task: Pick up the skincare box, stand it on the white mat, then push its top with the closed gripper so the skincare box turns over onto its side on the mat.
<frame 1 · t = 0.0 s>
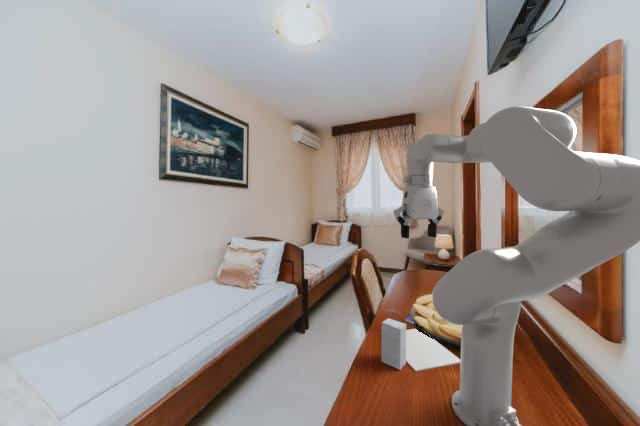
hand: (418, 237, 77), 37 cm above the table, tool pointing down, fingers open, 9 cm apart
hard drive: (422, 321, 100), on the table
skincare box: (393, 363, 73), on the table
white mat: (417, 347, 81), on the table
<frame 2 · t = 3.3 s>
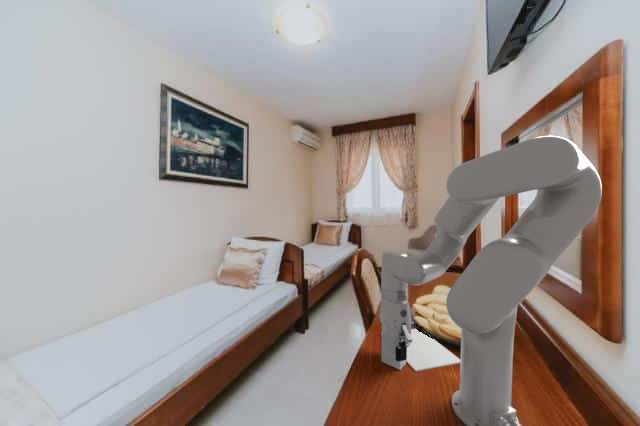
hand: (393, 351, 73), 3 cm above the table, tool pointing down, fingers closed on skincare box, 7 cm apart
skincare box: (393, 363, 73), on the table, touching gripper
everything else where it was.
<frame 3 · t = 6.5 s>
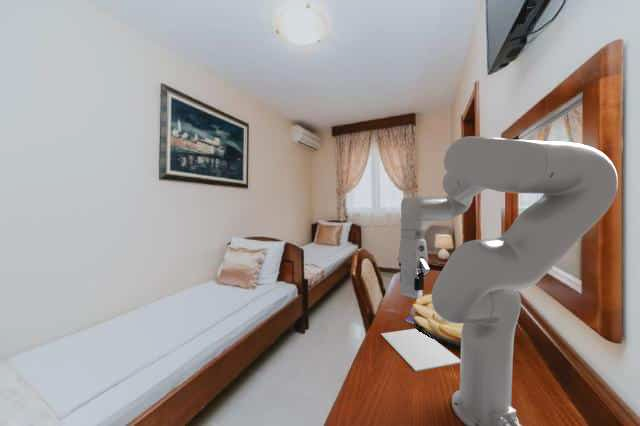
hand: (411, 285, 84), 19 cm above the table, tool pointing down, fingers closed on skincare box, 7 cm apart
skincare box: (411, 295, 84), point 16 cm above the table, touching gripper
everything else where it was.
when the fingers open (5 cm above the table, at t = 9.6 s): skincare box drops 1 cm, resting on white mat.
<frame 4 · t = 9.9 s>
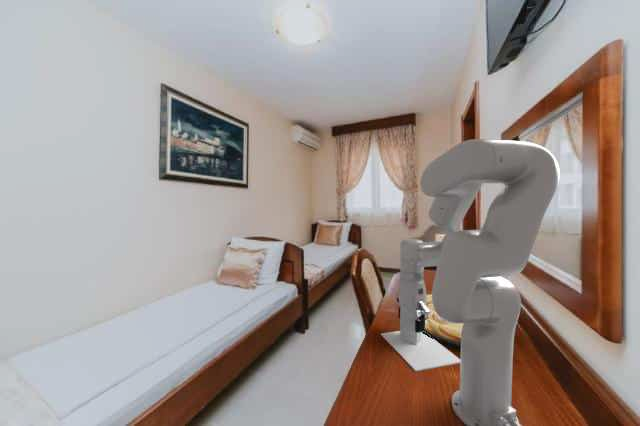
hand: (410, 324, 84), 6 cm above the table, tool pointing down, fingers open, 9 cm apart
skincare box: (410, 339, 85), resting on white mat
everything else where it was.
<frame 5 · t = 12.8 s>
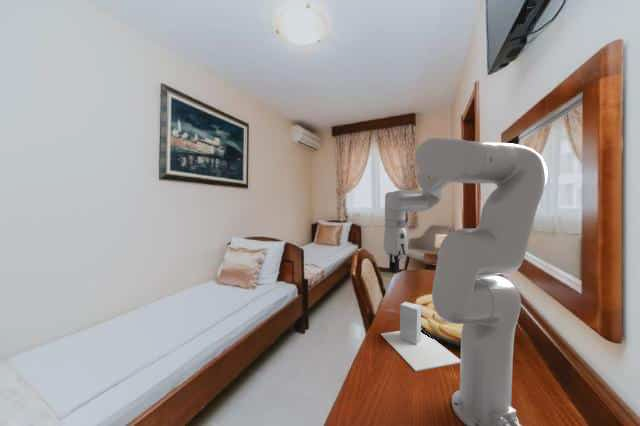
hand: (394, 271, 94), 21 cm above the table, tool pointing down, fingers closed
nothing on the table moved.
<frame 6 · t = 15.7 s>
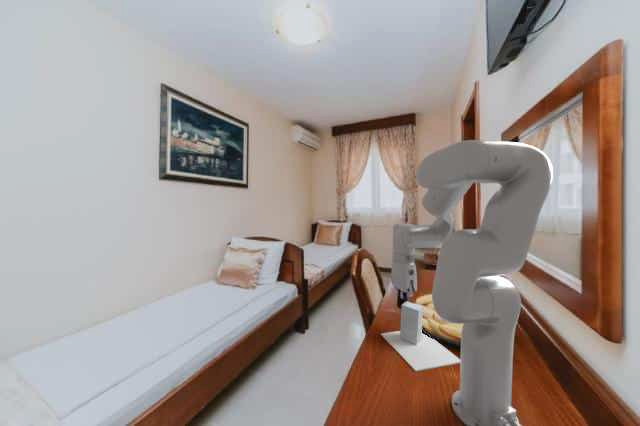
hand: (402, 307, 89), 9 cm above the table, tool pointing down, fingers closed
skincare box: (410, 339, 85), resting on white mat, touching gripper
everything else where it was.
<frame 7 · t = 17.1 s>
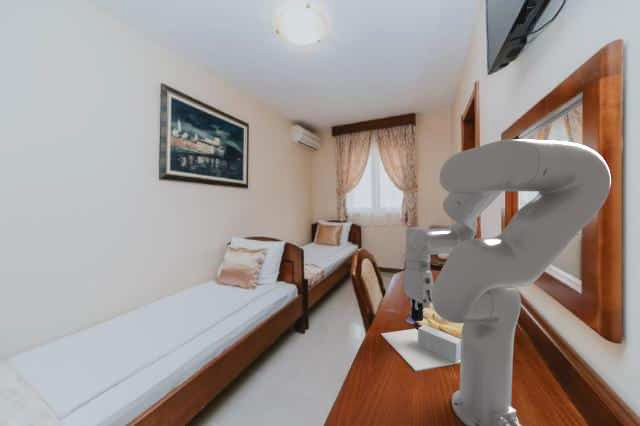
hand: (416, 319, 81), 9 cm above the table, tool pointing down, fingers closed
skincare box: (420, 334, 82), point 3 cm above the table, touching white mat
everything else where it was.
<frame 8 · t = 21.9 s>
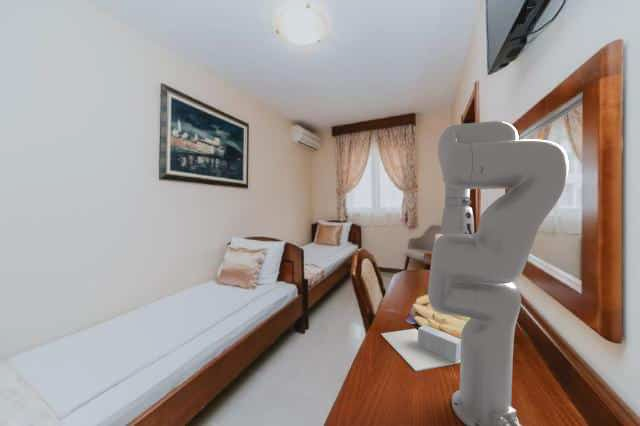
hand: (455, 255, 85), 29 cm above the table, tool pointing down, fingers closed
nothing on the table moved.
at the end: skincare box tilted 91°; skincare box inside the target area on the white mat (2.2 cm from its centre), point 3.5 cm above the white mat's base; the gripper is holding nothing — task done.
